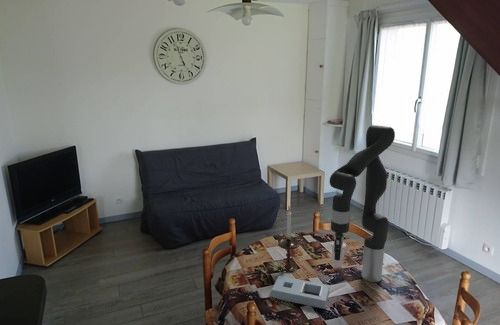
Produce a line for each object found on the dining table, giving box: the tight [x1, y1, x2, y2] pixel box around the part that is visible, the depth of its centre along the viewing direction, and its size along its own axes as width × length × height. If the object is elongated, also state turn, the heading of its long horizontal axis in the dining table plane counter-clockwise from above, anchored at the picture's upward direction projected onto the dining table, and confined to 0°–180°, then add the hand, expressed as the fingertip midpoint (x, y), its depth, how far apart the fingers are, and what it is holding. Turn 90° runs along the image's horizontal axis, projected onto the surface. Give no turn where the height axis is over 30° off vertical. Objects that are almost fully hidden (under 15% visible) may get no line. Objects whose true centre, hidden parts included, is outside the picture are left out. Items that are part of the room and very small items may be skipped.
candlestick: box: [277, 205, 300, 273], centre depth 175 cm, size 11×11×35 cm
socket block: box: [271, 275, 331, 310], centre depth 156 cm, size 12×24×4 cm, turn 70°
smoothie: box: [330, 241, 347, 268], centre depth 146 cm, size 6×6×14 cm
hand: (337, 256), depth 147 cm, fingers closed on smoothie, 6 cm apart
